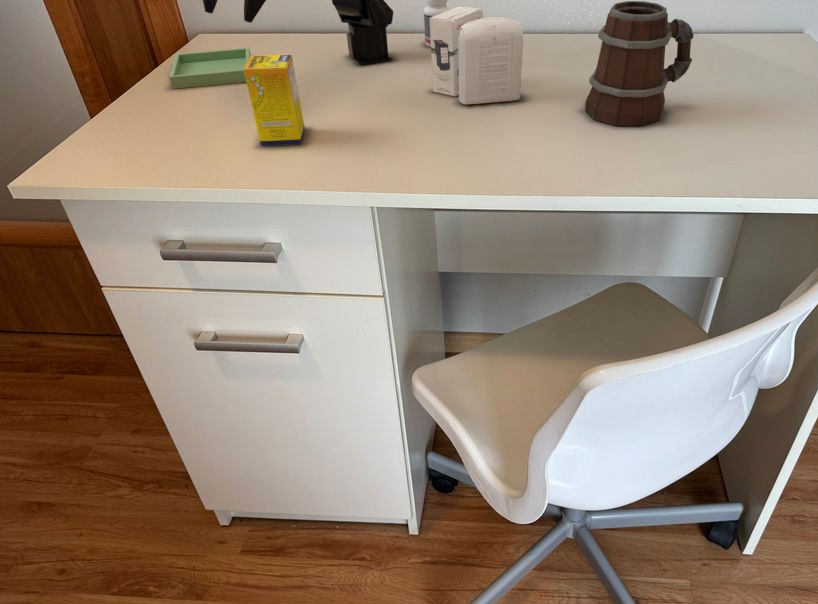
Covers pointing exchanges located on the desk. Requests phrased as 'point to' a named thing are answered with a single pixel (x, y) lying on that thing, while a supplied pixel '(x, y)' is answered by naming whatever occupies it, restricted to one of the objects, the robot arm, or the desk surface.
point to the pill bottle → (435, 7)
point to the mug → (636, 64)
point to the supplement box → (275, 99)
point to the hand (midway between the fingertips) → (227, 17)
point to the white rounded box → (490, 60)
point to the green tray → (209, 68)
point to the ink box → (448, 47)
